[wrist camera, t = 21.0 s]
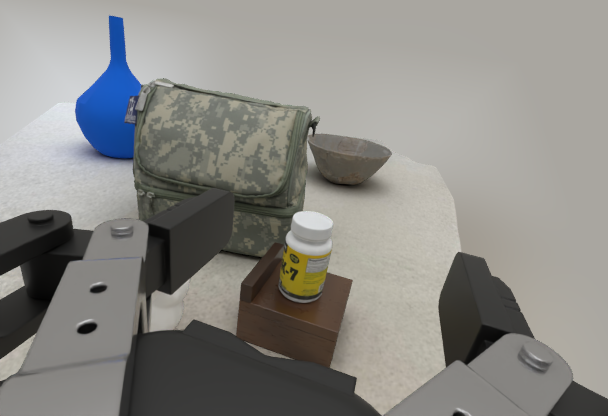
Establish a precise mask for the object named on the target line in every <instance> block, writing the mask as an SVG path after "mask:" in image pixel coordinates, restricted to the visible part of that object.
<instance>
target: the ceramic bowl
mask: <svg viewBox="0 0 608 416" xmlns="http://www.w3.org/2000/svg"><path fill="white" fill-rule="evenodd" d="M312 135H313V134H312ZM312 135H308V136H307V140H308V143H309V146H310V148H311V151H312V153H313V156H314V159H315V162H316V165H317V167H318V169H319V171H320V172H321V173H322V175H323V176H324V177H325V178H327V179H328V180H329V181H331V182H334V183H339V184H351V185H354V184H358V183H362V182H363V181H365V180H367V179H368V178H369V177H371V176H372V175H373V174H374V173H376V172H377V171H378V170H379V169H380V168H381V167H382V166H383V165H384V163H385V162H386V161H387V160H388V159H389V157H390V156H391V155H392V153H391V151H390V150H389V149H388V148H386V147H384V146H382V145H379V144H376V143H373V142H370V141H366V140H362V139H357V138H350V137H343V136H337V135H329V134H314V137H312Z"/></svg>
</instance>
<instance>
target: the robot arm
mask: <svg viewBox="0 0 608 416" xmlns="http://www.w3.org/2000/svg"><path fill="white" fill-rule="evenodd" d="M234 202H235V198H234V194H233V193H232V192H229V191H225V190H221V189H217V188H211V189H210V190H208V191H206V192H204V193H202V194H200V195H199V196H196V197H192V198H188V199H184V200H182V201H180V202H178V203H176V204H175V205H174V206H171V207H169V208H167V210H163V211H161V212H159V213H157V214H156V215H154V216H152V217H150V218H148V219H146V220H144V221H141V220H137V219H126V218H124V219H115V220H110V221H107V222H104V223H102V224H100V225H98V226H97V227H96V228H95V230H94V231H90V230H79V229H73V225H72V219H71V215H70V214H68V213H66V212H63V211H57V210H42V211H35V212H30V213H26V214H23V215H20V216H17V217H15V218H12V219H9V220H7V221H4V222H1V223H0V275H2V274H4V273H6V272H8V271H10V270H12V269H14V268H16V267H18V266H20V267H21V272H22V276H23V280H24V284H25V286H23V287H22V288H20V289H18V290H16V291H15V292H13V293H11V294H9V295H8V296H6V297H4V298H2V299H1V300H0V359H1V358H3V357H4V356H5V355H7V354H8V353H10V352H11V351H12V350H14V349H15V348H16V347H18V346H19V345H21V344H22V343H23V342H25V341H26V340H27V339H29V338H30V337H31V336H33V335H34V334H36V333H37V334H36V336H35V338H34V340H33V342H32V345H31V347H30V349H29V351H28V353H27V356H26V358H25V360H24V362H23V364H22V366H21V368H20V370H19V371H18V372H17V373H16V374H14V375H11V376H10V377H8V378H7V379H6V380H3V381H0V416H381V415H380V414H379V413H378V412H377V411H376V410H375V409H374V408H373V407H372V406H371V405H370V404H369V403H367V402H366V401H365V400H364V399H362V398H361V397H359V396H358V395H356V394H355V393H354V391H355V385H356V379H357V378H356V377H353V376H350V375H347V374H345V373H342V372H339V371H336V370H333V369H331V368H328V367H325V366H322V365H320V364H317V363H314V362H308V361H300V360H293V359H285V358H278V357H270V356H267V355H264V354H262V353H261V352H259V351H258V350H256V349H255V348H253V347H252V346H250V345H249V344H247V343H246V342H244V341H243V340H241V339H240V338H238V337H236V336H235V335H233V334H232V333H230V332H228V331H225V330H222V329H219V328H216V327H214V326H211V325H208V324H205V323H202V322H200V321H197V320H193V321H192V322H191V323H190V324H189V325H188V326H187V327H186V328H185V330H184V331H181V330H161V331H154V332H150V327H151V312H152V293H153V292H155V291H156V290H157V291H160V292H163V293H166V294H168V295H172V294H173V293H174V292H175V291H177V290H178V289H179V288H180V287H181V286H182V285H183V284H184V283H185V282H186V281H188V280H189V279H190V278H191V277H192V276H193V275H194V274H195V273H196V272H198V271H199V270H200V269H201V268H202V267H203V266H204V265H205V264H206V263H208V262H209V261H210V260H211V259H212V258H213V257H214V256H215V255H216V254H218V253H219V252H220V251H221V250H222V249H223V248H224V247H225V246H226V245H227V244H228V242H229V241H230V238H231V236H232V231H233V217H234ZM439 317H440V325H441V332H442V340H443V348H444V355H445V363H446V368H445V369H444V370H442V371H441V372H440V373H438V374H437V375H436V376H434V377H433V378H432V379H430V380H429V381H428V382H427V383H425V384H424V385H423V386H421V387H420V388H419V389H417V390H416V391H415V392H413V393H412V394H411V395H409V396H408V397H407V398H405V399H404V400H403V401H401V402H400V403H399V404H397V405H396V406H395V407H394V408H392V409H391V410H390V411H388V412H387V413H386V414H384V415H383V416H608V399H607V398H605V397H603V396H601V395H599V394H597V393H595V392H593V391H591V390H589V389H587V388H585V387H583V386H581V385H580V384H578V383H576V382H574V381H573V373H572V371H571V369H570V367H569V365H568V364H567V363H566V361H565V360H564V359H563V358H562V357H561V356H560V355H559V354H558V353H556V352H555V351H554V350H552V349H551V348H550V347H548V346H547V345H545V344H543V343H542V342H540V341H538V340H536V339H535V338H534V336H533V334H532V332H531V330H530V328H529V326H528V324H527V322H526V320H525V318H524V316H523V314H522V313H521V312H520V308H519V306H518V304H517V303H516V299H515V297H514V295H513V293H512V291H511V289H510V288H509V287H508V286H507V285H505V283H504V282H502V281H501V280H500V279H499V278H498V277H494V276H491V273H490V271H489V268H488V266H487V264H486V261H485V259H484V258H481V257H477V256H473V255H469V254H465V253H461V252H458V253H457V254H456V256H455V258H454V260H453V263H452V265H451V268H450V271H449V273H448V276H447V278H446V281H445V283H444V286H443V289H442V291H441V294H440V299H439Z"/></svg>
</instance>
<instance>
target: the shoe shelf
mask: <svg viewBox="0 0 608 416" xmlns="http://www.w3.org/2000/svg"><path fill="white" fill-rule="evenodd" d="M283 249H284V244H280V243H277V242H275V243H274V244H273V245H272V246H271V248H270V249H269V250H268V251H267V252H266V254H265V255H264V256H263V257H262V259H261V260H260V261H259V262H258V263H257V265H256V266H255V267H254V268H253V269H252V271H251V272H250V273H249V274H248V276H247V277H246V278H245V279H244V280H243V282H242V283H241V292H240V304H239V313H238V323H237V333H236V337H238V338H240V339H241V340H244V341H246V342H249V343H252V344H255V345H257V346H260V347H263V348H266V349H269V350H271V351H274V352H277V353H280V354H282V355H285V356H288V357H291V358H293V359H296V360H300V361H308V362H314V363H317V364H320V365H322V366H325V367H328V368H330V364H331V360H332V357H333V353H334V349H335V345H336V341H337V337H338V334H339V330H340V326H341V322H342V319H343V316H344V312H345V308H346V304H347V301H348V297H349V293H350V289H351V285H352V280H350V279H347V278H344V277H340V276H337V275H334V274H330V273H326V278H325V282H324V286H323V291H322V294H321V296H320V297H319V298H318V299H317V300H315V301H312V302H309V303H299V302H294V301H292V300H289V299H288V298H286V297H285V296H284V295H283V294H282V293H281V291H280V290H279V277H280V271H281V264H282V256H283Z"/></svg>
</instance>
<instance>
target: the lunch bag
mask: <svg viewBox="0 0 608 416" xmlns="http://www.w3.org/2000/svg"><path fill="white" fill-rule="evenodd" d="M311 120H312V116H311V110H310V109H308V107H304V106H292V105H281V104H280V103H274V102H271V101H264V100H259V99H254V98H249V97H244V96H241V95H236V94H232V93H222V92H219V91H208V90H202V89H197V88H195V87H191V86H188V85H185V84H176V83H173V82H171V81H170V80H168V79H164V78H163V79H157V80H156V81H151V82H150V83H149V84H146V85H141V90H140V92H139V94H138V95H137V96H130V98H129V102H128V106H127V111H126V116H125V121H124V123H128V124H135V133H134V160H133V174H134V178H135V180H134V183H135V189H136V190H137V201H138V211H139V220H141V221H144V220H146V219H148V218H150V217H152V216H154V215H156V214H157V213H159V212H161V211H163V210H167V208H169V207H171V206H174V205H175V204H176V203H178V202H180V201H182V200H184V199H188V198H192V197H196V196H199V195H200V194H202V193H204V192H206V191H208V190H210V189H211V188H217V189H221V190H225V191H229V192H232V193H233V194H234V198H235V202H234V217H233V231H232V236H231V238H230V241H229V242H228V244H227V245H226V246H225V247H224V248H223V249H222V250H226V251H231V252H236V253H241V254H246V255H252V256H258V257H263V256H264V255H265V254H266V252H267V251H268V250H269V249H270V248H271V246H272V245H273V244H274V243H275V242H277V243H280V244H284V246H285V239H286V235H287V233H288V232H289V231H290V230H291V223H292V219H293V216H294V214H295V213H297V212H301V211H303V205H304V198H305V185H306V180H305V178H306V174H307V169H308V164H307V154H306V152H307V136H308V130H309V128H310V127H312V129H313V135H312V137H314V134H315V128H316V126H317V124H318V122H319V120H320V118H319V117H316V118H315V119H314V120H313V121H311ZM283 251H284V249H283ZM282 257H283V256H282Z"/></svg>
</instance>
